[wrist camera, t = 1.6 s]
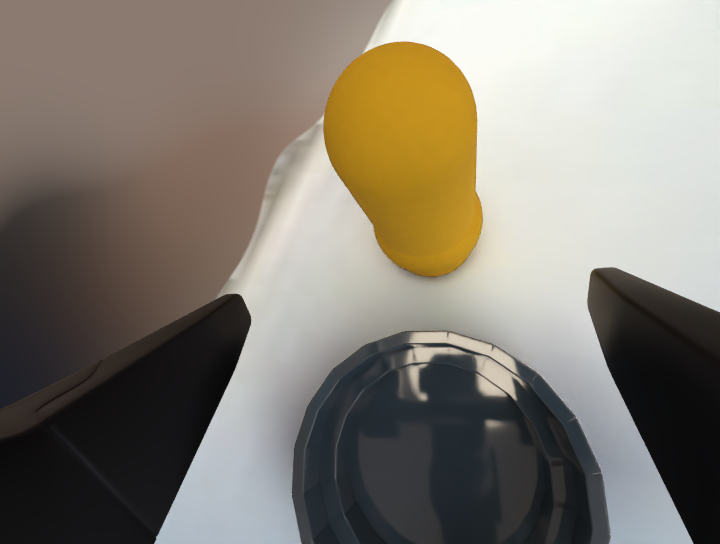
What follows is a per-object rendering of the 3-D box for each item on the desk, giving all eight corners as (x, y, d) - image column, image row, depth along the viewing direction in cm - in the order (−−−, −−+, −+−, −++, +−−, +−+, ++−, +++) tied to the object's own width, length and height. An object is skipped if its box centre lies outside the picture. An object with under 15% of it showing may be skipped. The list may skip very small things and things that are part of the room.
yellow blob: (466, 294, 21) (460, 189, 8) (374, 270, 23) (257, 156, 10) (492, 203, 22) (521, -19, 9) (401, 187, 24) (322, -11, 11)
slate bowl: (540, 664, 16) (565, 770, 12) (298, 525, 20) (254, 567, 16) (600, 382, 18) (640, 388, 14) (366, 310, 22) (342, 298, 18)
